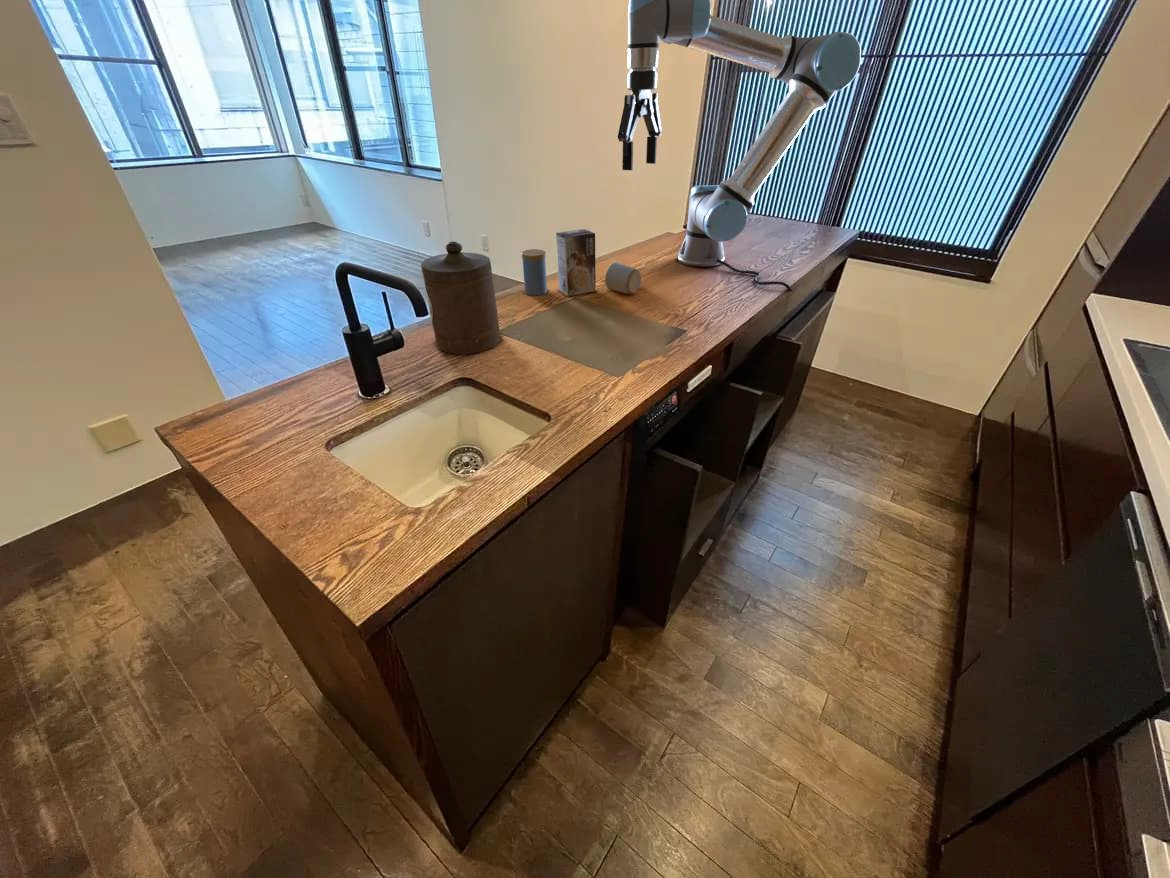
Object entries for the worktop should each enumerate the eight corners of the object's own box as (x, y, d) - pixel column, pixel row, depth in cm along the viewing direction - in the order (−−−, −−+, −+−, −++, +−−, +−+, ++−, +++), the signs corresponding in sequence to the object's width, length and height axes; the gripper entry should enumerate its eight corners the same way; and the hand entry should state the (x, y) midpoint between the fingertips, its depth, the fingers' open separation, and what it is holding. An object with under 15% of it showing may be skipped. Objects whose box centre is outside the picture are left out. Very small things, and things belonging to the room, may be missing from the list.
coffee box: (585, 285, 144) (585, 228, 135) (596, 291, 140) (596, 233, 130) (558, 290, 141) (555, 232, 131) (567, 297, 136) (565, 237, 127)
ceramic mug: (627, 298, 135) (629, 270, 130) (604, 292, 139) (605, 264, 135) (647, 288, 142) (650, 261, 137) (624, 283, 146) (626, 256, 141)
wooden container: (458, 324, 121) (442, 231, 108) (511, 332, 117) (501, 236, 104) (423, 349, 109) (400, 248, 96) (480, 358, 105) (465, 255, 92)
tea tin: (552, 290, 141) (550, 251, 134) (537, 297, 136) (534, 257, 130) (534, 286, 144) (531, 247, 137) (519, 292, 139) (516, 253, 133)
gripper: (652, 71, 131) (648, 160, 144) (603, 71, 115) (604, 172, 127) (677, 69, 128) (671, 161, 140) (631, 69, 111) (629, 173, 124)
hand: (639, 166), depth 134 cm, fingers open, 13 cm apart
